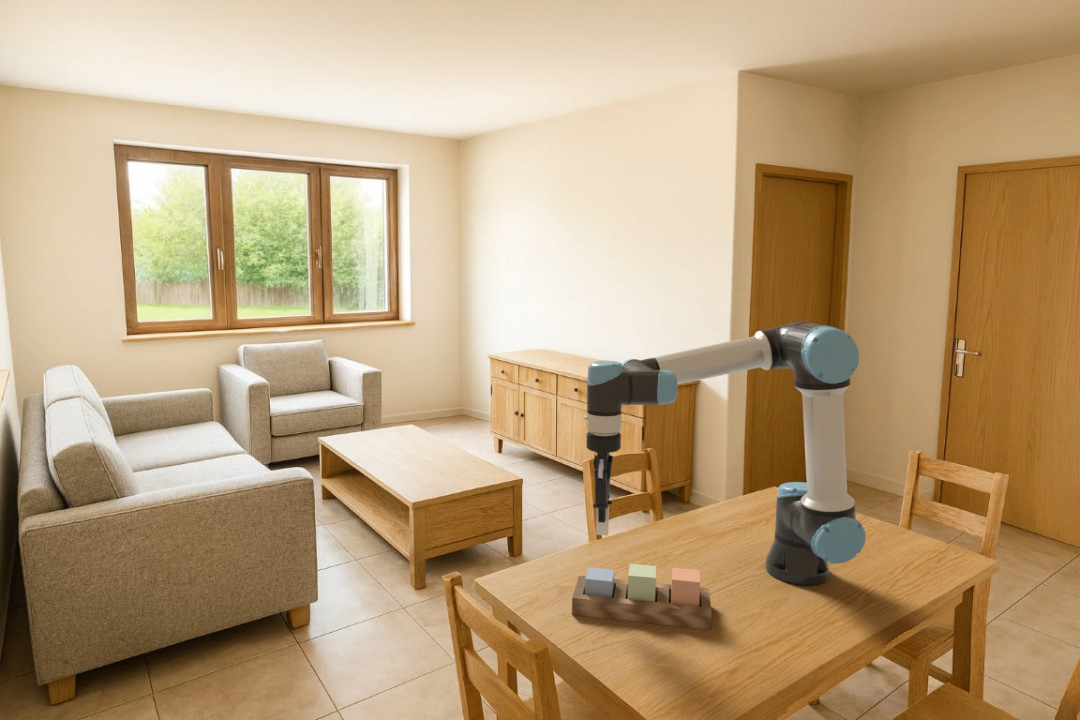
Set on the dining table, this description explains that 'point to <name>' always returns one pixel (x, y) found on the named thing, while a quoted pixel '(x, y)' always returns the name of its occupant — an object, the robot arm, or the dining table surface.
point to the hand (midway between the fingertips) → (602, 533)
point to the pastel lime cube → (642, 582)
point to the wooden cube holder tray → (642, 606)
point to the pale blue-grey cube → (599, 582)
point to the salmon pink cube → (685, 587)
